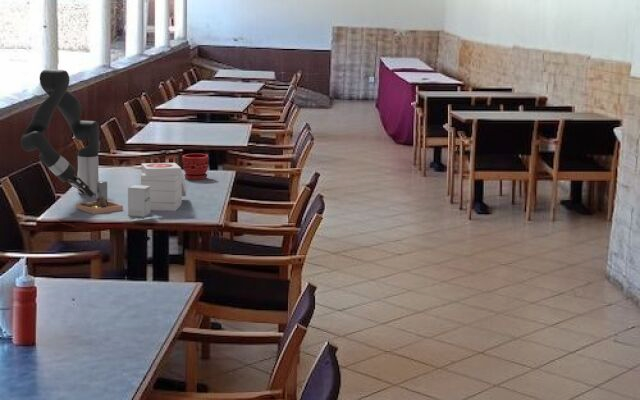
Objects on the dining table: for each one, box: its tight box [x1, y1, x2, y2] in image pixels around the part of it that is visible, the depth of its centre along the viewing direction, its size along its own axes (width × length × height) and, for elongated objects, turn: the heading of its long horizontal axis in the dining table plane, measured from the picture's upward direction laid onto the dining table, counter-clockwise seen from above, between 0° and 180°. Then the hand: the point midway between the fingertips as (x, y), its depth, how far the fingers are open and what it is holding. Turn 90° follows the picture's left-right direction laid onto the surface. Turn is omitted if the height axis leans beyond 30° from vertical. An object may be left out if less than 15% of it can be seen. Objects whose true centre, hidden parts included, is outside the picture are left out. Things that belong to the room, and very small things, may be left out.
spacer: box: [95, 180, 109, 208], centre depth 426 cm, size 5×5×11 cm
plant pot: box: [181, 153, 210, 181], centre depth 510 cm, size 13×13×12 cm
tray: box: [75, 200, 124, 215], centre depth 424 cm, size 14×14×3 cm
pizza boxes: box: [140, 162, 188, 212], centre depth 442 cm, size 19×30×18 cm, turn 177°
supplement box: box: [127, 184, 151, 220], centre depth 415 cm, size 7×7×13 cm
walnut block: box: [80, 201, 94, 208], centre depth 423 cm, size 4×4×2 cm
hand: (88, 193), depth 422 cm, fingers open, 8 cm apart
